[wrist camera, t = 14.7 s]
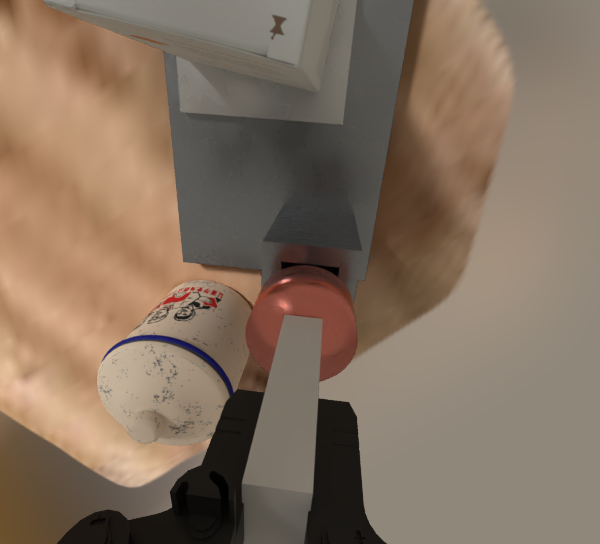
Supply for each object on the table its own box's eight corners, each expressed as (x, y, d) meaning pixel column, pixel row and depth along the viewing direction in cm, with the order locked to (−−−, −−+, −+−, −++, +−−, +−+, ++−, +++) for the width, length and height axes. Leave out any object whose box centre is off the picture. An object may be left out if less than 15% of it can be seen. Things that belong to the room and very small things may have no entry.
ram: (282, 213, 22) (244, 284, 12) (351, 220, 22) (365, 297, 12) (279, 275, 24) (245, 376, 14) (342, 281, 24) (349, 388, 14)
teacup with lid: (229, 260, 26) (161, 353, 16) (277, 346, 30) (246, 470, 19) (115, 305, 29) (-6, 408, 19) (170, 378, 33) (93, 501, 22)
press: (163, -81, 18) (36, -230, 10) (421, -69, 17) (492, -221, 9) (191, 254, 26) (133, 309, 19) (363, 272, 26) (375, 337, 18)
